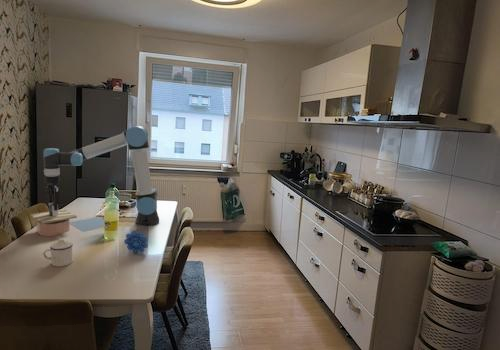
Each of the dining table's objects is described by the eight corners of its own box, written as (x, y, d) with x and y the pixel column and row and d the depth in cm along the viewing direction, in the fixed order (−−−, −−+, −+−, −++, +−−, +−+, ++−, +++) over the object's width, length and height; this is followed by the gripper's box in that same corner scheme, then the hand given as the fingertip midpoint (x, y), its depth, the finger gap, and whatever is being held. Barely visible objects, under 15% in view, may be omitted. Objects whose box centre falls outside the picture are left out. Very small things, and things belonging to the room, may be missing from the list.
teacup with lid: (73, 257, 162) (73, 235, 160) (72, 265, 154) (71, 242, 152) (45, 260, 157) (44, 237, 155) (42, 269, 149) (40, 244, 147)
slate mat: (118, 224, 212) (118, 224, 212) (83, 232, 195) (83, 231, 195) (101, 216, 226) (101, 216, 226) (67, 223, 209) (67, 222, 209)
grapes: (123, 256, 167) (123, 234, 165) (124, 251, 173) (124, 229, 171) (147, 255, 170) (147, 233, 168) (147, 250, 176) (148, 229, 174)
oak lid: (76, 217, 195) (76, 205, 193) (42, 224, 181) (42, 211, 180) (63, 210, 206) (63, 199, 205) (30, 216, 192) (29, 204, 191)
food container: (134, 205, 259) (134, 192, 257) (130, 207, 253) (130, 194, 251) (119, 203, 260) (119, 191, 258) (115, 205, 254) (115, 193, 252)
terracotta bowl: (74, 231, 196) (74, 220, 195) (44, 238, 184) (43, 226, 182) (62, 224, 206) (62, 214, 205) (33, 230, 194) (33, 219, 192)
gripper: (39, 173, 191) (40, 212, 195) (51, 178, 181) (52, 219, 185) (53, 172, 197) (54, 210, 201) (65, 177, 187) (66, 216, 191)
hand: (53, 214), depth 193 cm, fingers closed on oak lid, 4 cm apart
